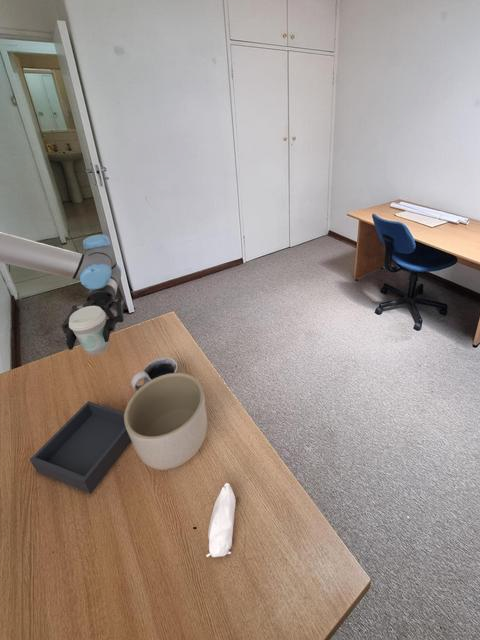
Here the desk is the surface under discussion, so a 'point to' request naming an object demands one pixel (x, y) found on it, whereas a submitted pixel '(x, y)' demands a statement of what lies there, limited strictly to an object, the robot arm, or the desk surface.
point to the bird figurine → (222, 523)
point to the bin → (84, 447)
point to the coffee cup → (89, 329)
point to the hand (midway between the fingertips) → (87, 341)
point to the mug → (155, 371)
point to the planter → (167, 420)
